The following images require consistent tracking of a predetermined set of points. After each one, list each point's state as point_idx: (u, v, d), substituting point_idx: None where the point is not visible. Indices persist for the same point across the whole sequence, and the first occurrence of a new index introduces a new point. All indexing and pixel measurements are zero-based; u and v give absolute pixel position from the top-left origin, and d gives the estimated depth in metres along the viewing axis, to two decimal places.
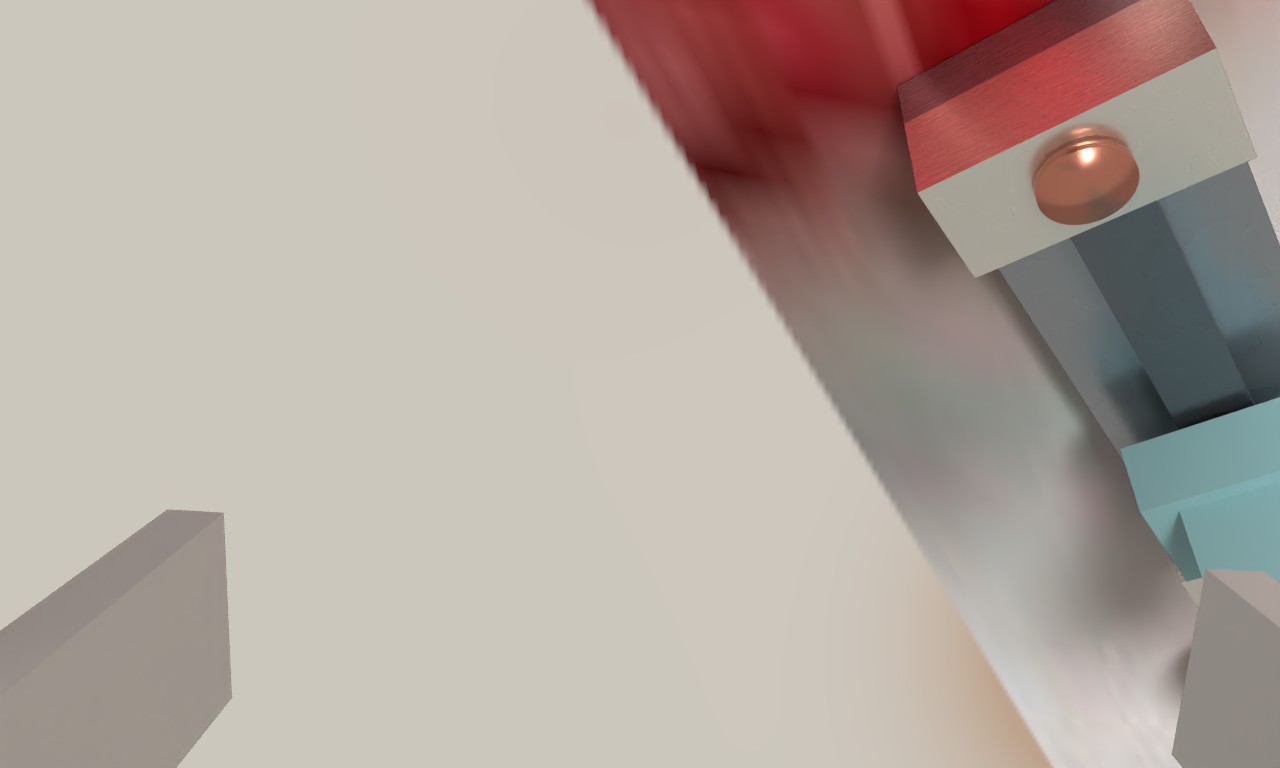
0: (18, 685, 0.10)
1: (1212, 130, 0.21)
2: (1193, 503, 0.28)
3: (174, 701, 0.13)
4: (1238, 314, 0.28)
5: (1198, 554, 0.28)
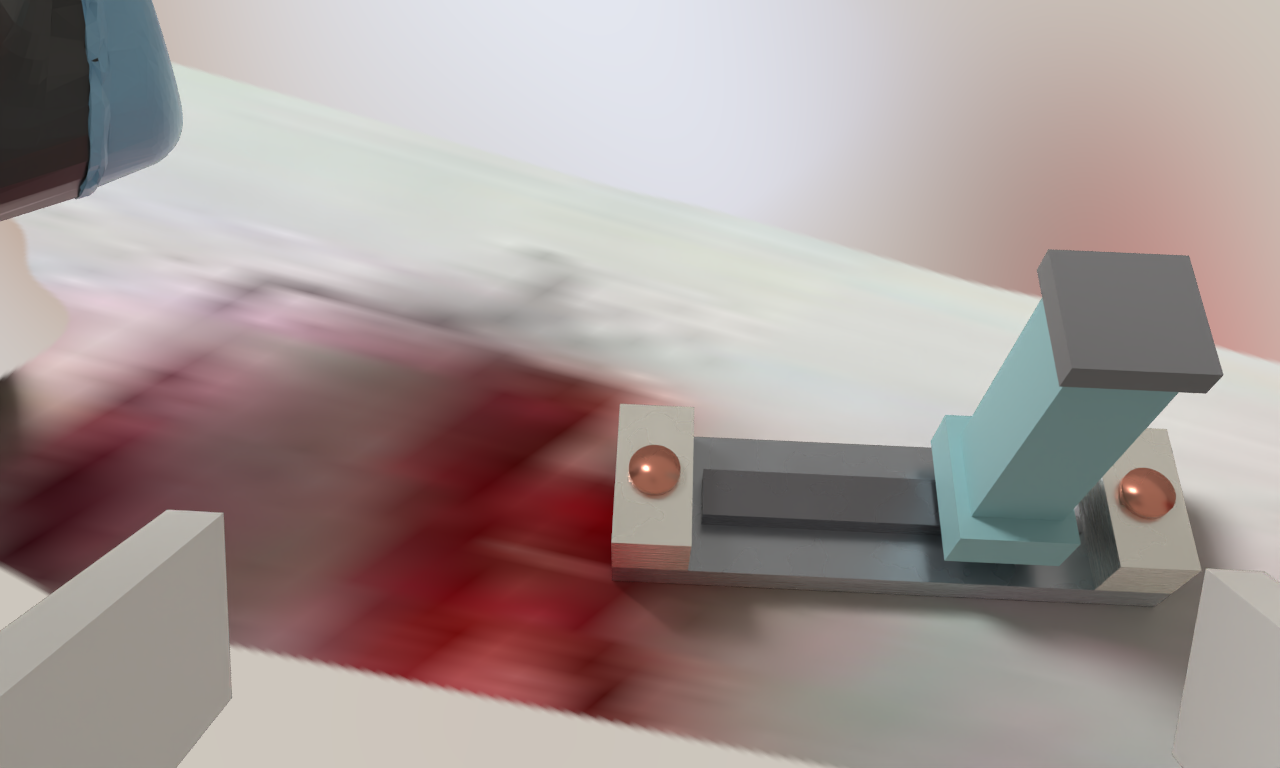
0: (18, 685, 0.10)
1: (665, 417, 0.42)
2: (966, 506, 0.39)
3: (174, 701, 0.13)
4: (869, 475, 0.43)
5: (982, 497, 0.38)
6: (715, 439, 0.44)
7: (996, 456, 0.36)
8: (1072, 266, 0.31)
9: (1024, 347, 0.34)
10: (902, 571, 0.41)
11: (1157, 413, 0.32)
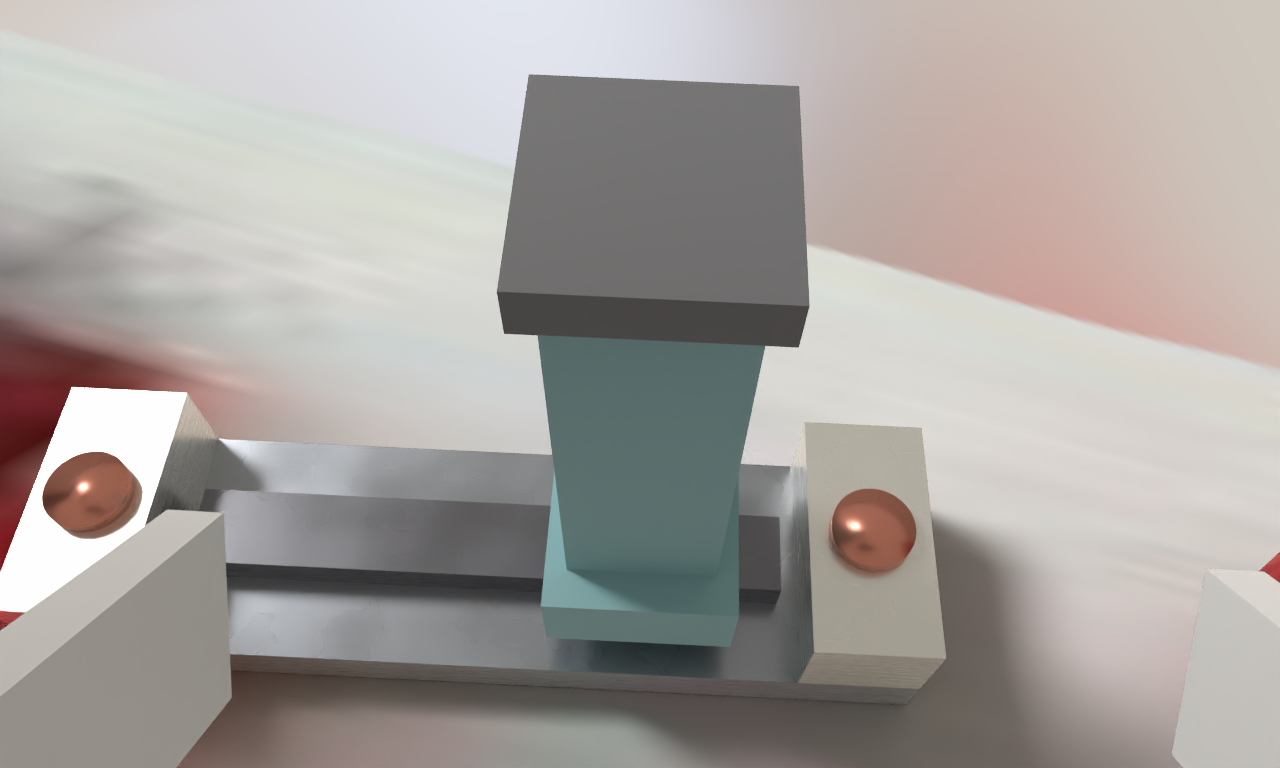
0: (18, 685, 0.10)
1: (136, 408, 0.27)
2: (562, 551, 0.24)
3: (174, 701, 0.13)
4: (479, 498, 0.28)
5: None
6: (255, 443, 0.29)
7: None
8: (564, 103, 0.16)
9: None
10: (497, 651, 0.26)
11: (754, 392, 0.17)
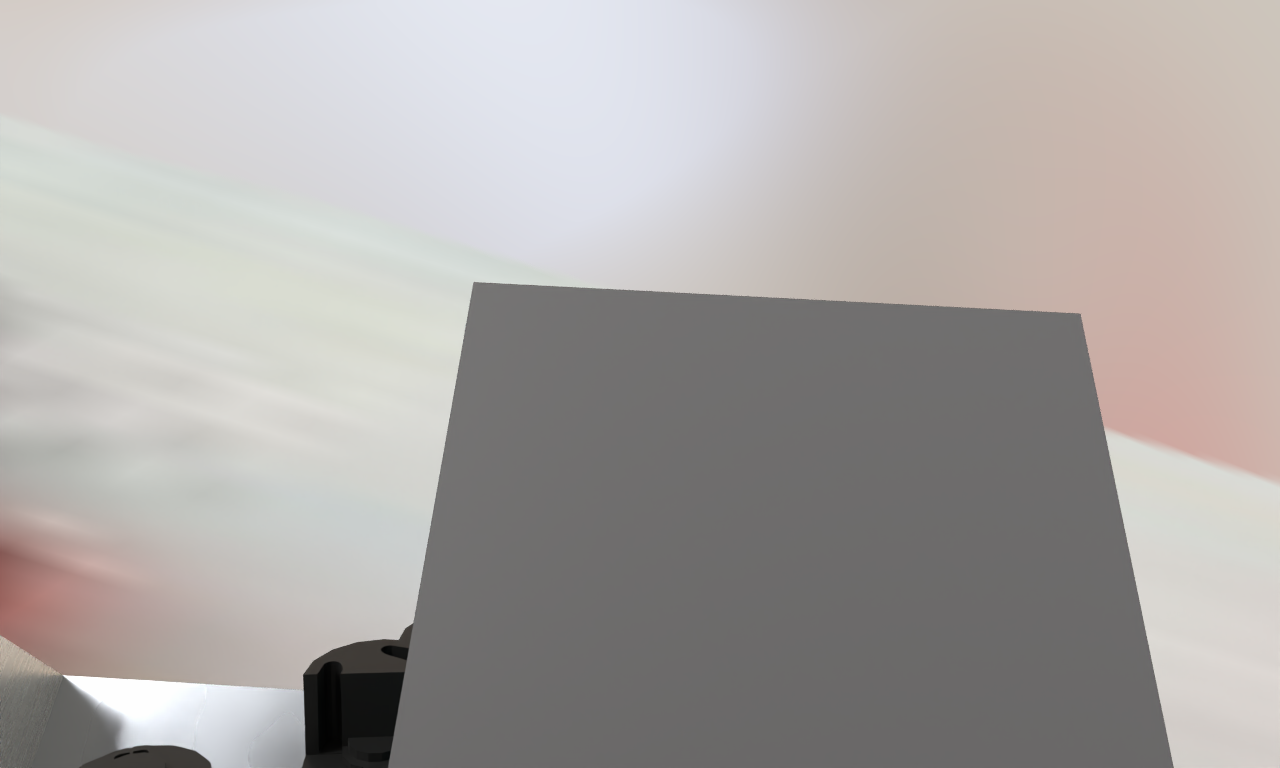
0: None
1: None
2: None
3: None
4: None
5: None
6: (115, 683, 0.20)
7: None
8: (551, 356, 0.07)
9: None
10: None
11: None
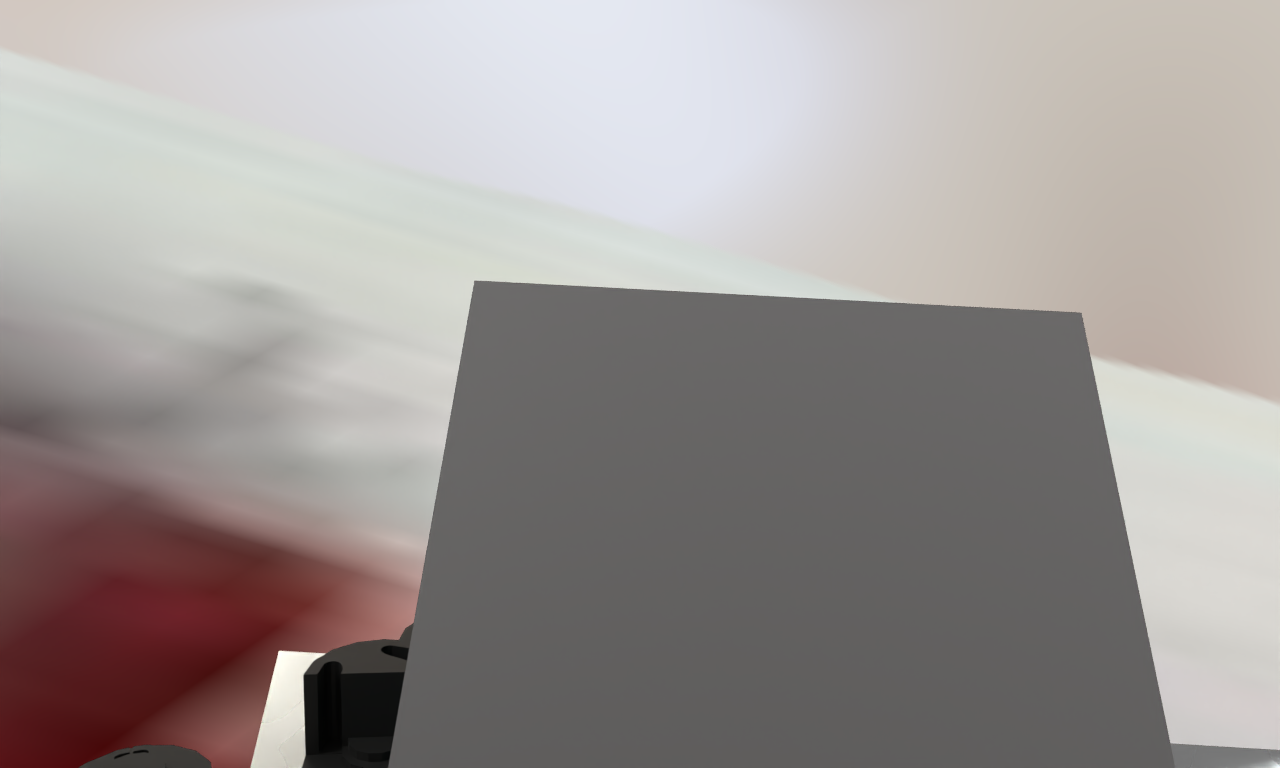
0: None
1: None
2: None
3: None
4: None
5: None
6: None
7: None
8: (552, 356, 0.07)
9: None
10: None
11: None
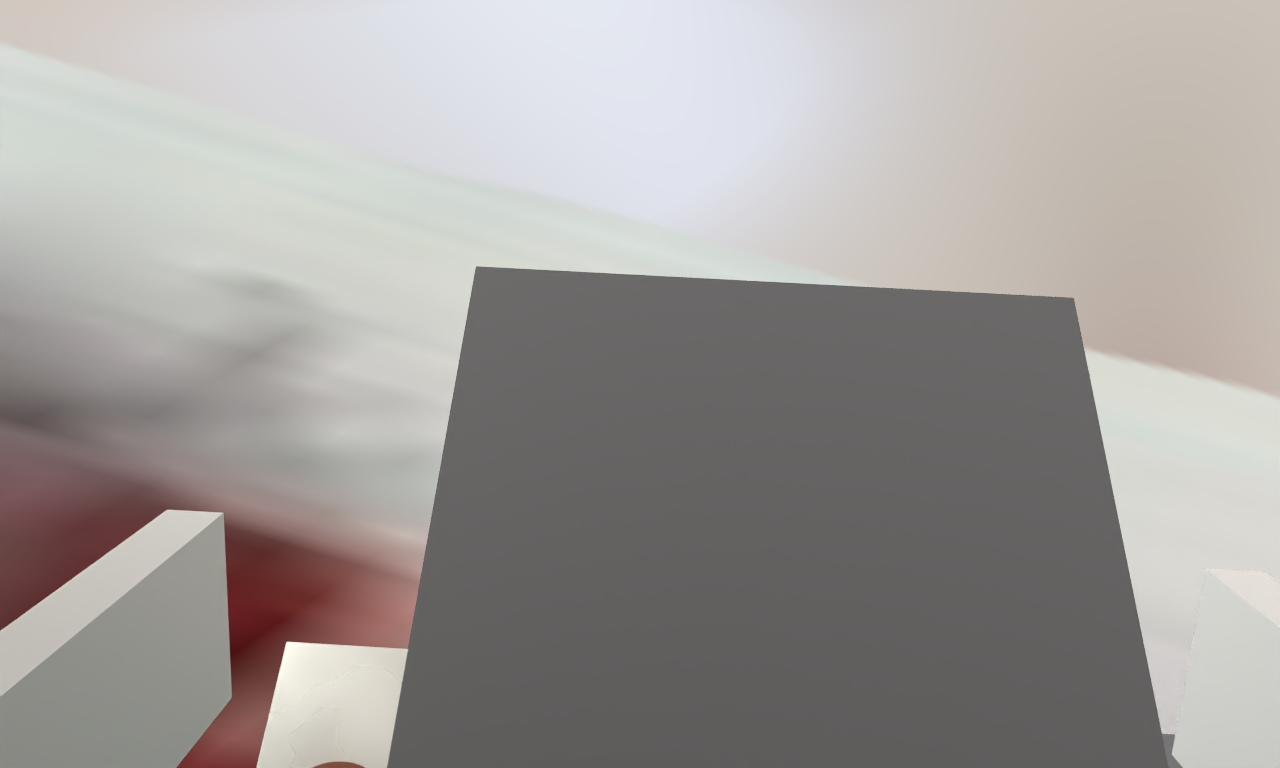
0: (19, 685, 0.10)
1: (385, 679, 0.18)
2: None
3: (174, 701, 0.13)
4: None
5: None
6: None
7: None
8: (552, 339, 0.07)
9: None
10: None
11: None
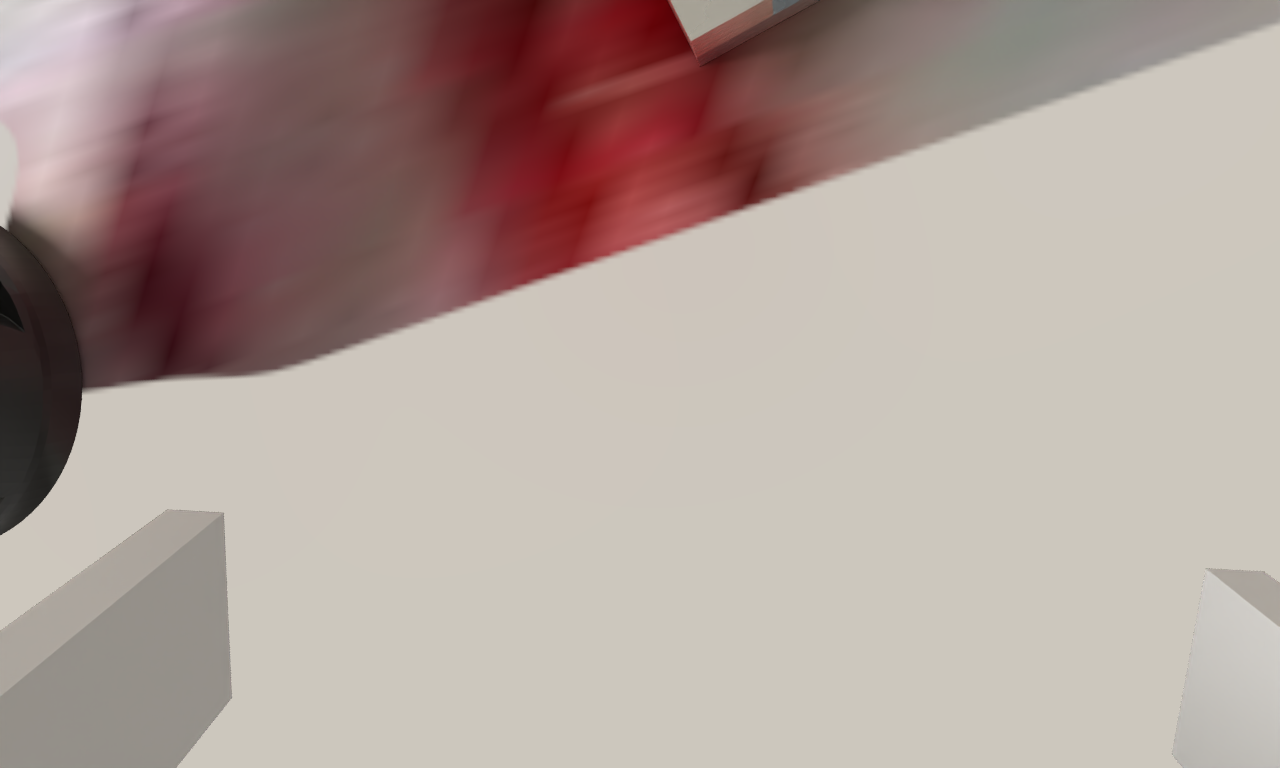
0: (18, 685, 0.10)
1: None
2: None
3: (174, 701, 0.13)
4: None
5: None
6: None
7: None
8: None
9: None
10: None
11: None
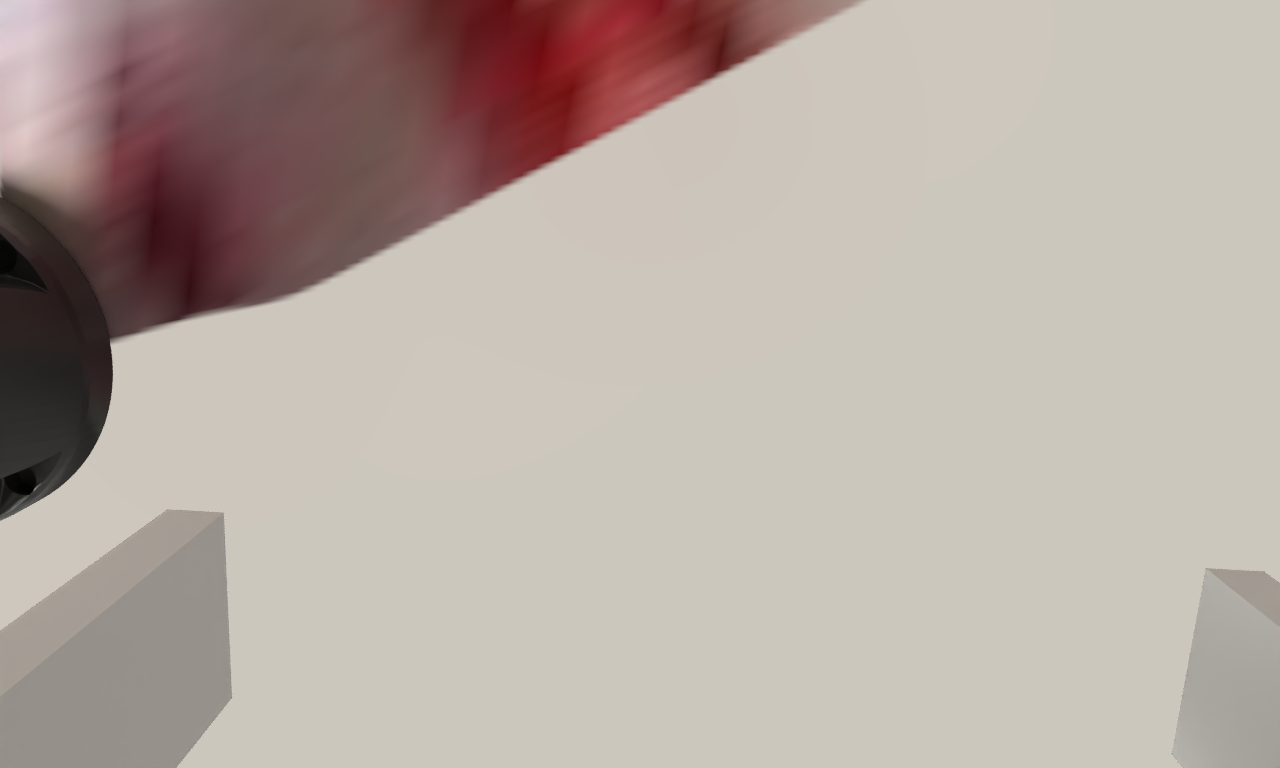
0: (18, 685, 0.10)
1: None
2: None
3: (174, 701, 0.13)
4: None
5: None
6: None
7: None
8: None
9: None
10: None
11: None
